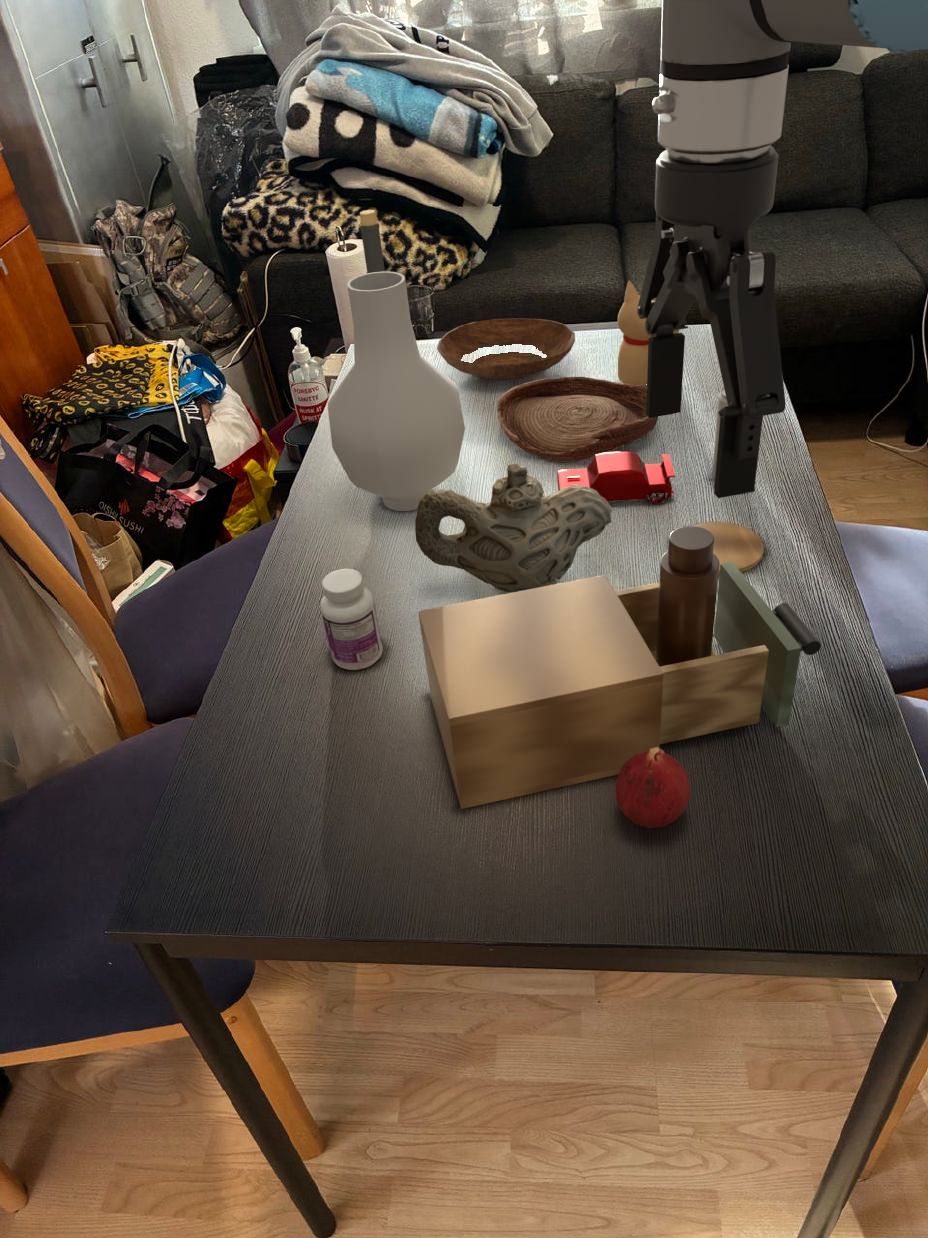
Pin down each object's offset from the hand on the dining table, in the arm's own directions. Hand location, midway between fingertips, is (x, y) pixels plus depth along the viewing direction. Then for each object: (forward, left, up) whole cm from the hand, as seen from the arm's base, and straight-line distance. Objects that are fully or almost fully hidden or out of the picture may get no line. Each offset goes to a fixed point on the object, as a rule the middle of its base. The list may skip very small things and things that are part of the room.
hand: (695, 450), depth 72 cm
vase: (+46, +19, -26) cm, 56 cm away
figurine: (+68, -22, -26) cm, 76 cm away
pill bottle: (+16, +29, -26) cm, 42 cm away
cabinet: (0, +14, -26) cm, 29 cm away
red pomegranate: (-13, +8, -26) cm, 30 cm away
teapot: (+23, +10, -26) cm, 36 cm away
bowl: (+81, -3, -26) cm, 85 cm away
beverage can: (+36, -21, -26) cm, 49 cm away
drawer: (0, -1, -25) cm, 25 cm away
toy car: (+37, -6, -26) cm, 46 cm away
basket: (+56, -7, -26) cm, 62 cm away
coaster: (+22, -13, -26) cm, 36 cm away
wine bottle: (+68, +17, -26) cm, 75 cm away
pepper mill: (0, 0, -24) cm, 24 cm away
